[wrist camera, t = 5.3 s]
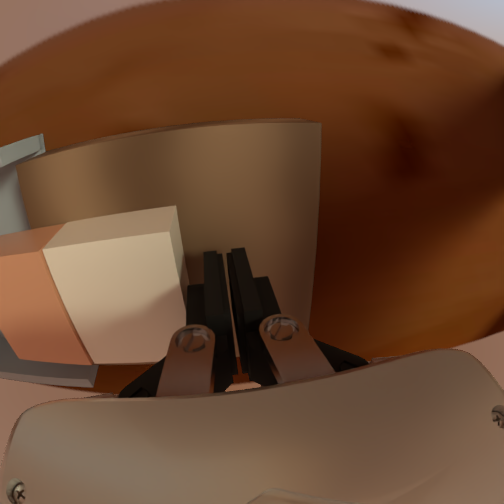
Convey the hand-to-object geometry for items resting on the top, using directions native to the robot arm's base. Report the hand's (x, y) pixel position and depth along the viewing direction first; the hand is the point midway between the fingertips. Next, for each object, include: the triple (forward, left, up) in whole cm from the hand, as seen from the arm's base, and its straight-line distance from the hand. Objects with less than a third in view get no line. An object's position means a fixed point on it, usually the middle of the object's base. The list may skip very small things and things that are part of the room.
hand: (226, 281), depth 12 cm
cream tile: (+4, +2, -1) cm, 4 cm away
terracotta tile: (+8, +5, -1) cm, 9 cm away
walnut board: (+2, +1, -4) cm, 5 cm away
